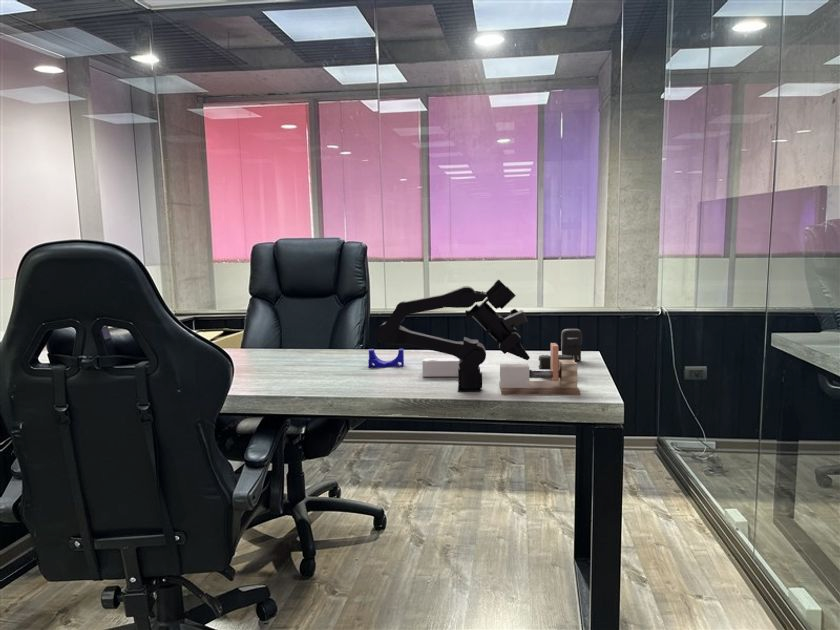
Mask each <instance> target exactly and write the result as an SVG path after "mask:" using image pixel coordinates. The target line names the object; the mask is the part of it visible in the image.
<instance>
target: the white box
mask: <svg viewBox="0 0 840 630" xmlns="http://www.w3.org/2000/svg"><path fill="white" fill-rule="evenodd" d="M421 363H422V377H458V367H459V358H457V357H437V358H436V357H430V358H428V357H427V358H426V357H425V358H424V359H423V360H422V362H421Z"/></svg>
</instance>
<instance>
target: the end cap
mask: <svg viewBox="0 0 840 630" xmlns="http://www.w3.org/2000/svg"><path fill="white" fill-rule="evenodd" d="M559 360H573V357H572V356H571V355H562V354H558V370H559ZM550 361H551V355H549V354H540V355H539V357H538V362H539V364H538V370H550Z"/></svg>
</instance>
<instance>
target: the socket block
mask: <svg viewBox="0 0 840 630" xmlns="http://www.w3.org/2000/svg"><path fill="white" fill-rule="evenodd" d="M559 370H561V378H558V381H559V385H560V386H561V388H577V387H578V362H577V361H576V362H575V361H574V360H559Z"/></svg>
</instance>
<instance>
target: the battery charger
mask: <svg viewBox="0 0 840 630" xmlns="http://www.w3.org/2000/svg"><path fill="white" fill-rule="evenodd" d="M560 339H561V342H560V344H561V345H560V346H561V347H560V348H561V355H571V356H572V357H573V360H574V361H576V362H581V360H582V344H583V334H582V331H581V330H580V329H579V328H565V329H563V330H562V331H561V335H560Z"/></svg>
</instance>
